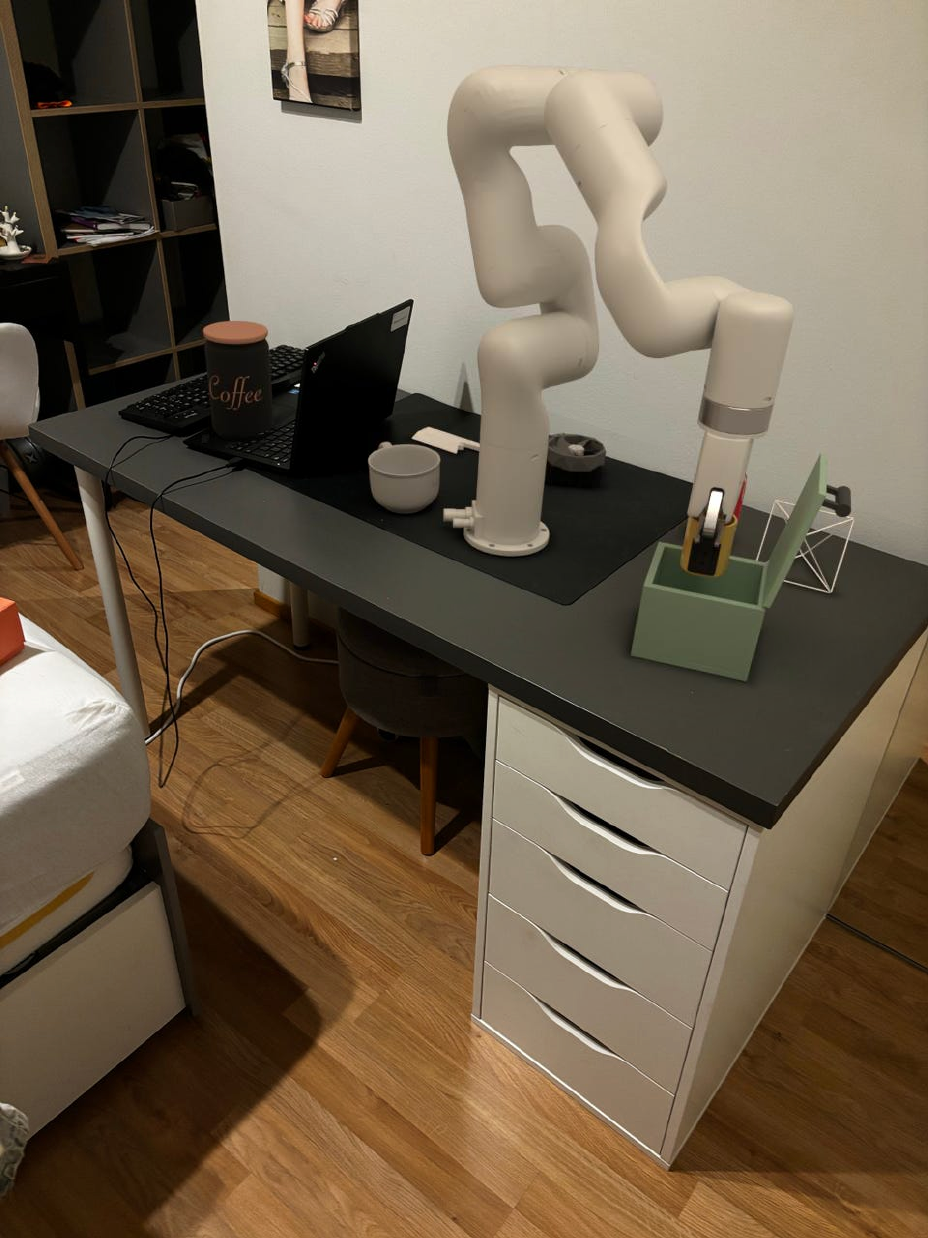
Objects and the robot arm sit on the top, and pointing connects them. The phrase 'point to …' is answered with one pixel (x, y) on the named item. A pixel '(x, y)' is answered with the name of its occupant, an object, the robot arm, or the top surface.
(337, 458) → the top surface
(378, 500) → the teacup
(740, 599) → the green hinged lid box
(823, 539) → the geometric polyhedron
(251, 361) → the coffee jar
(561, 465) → the cpu cooler
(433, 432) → the butcher knife
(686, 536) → the yellow cylinder
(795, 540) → the green box lid
